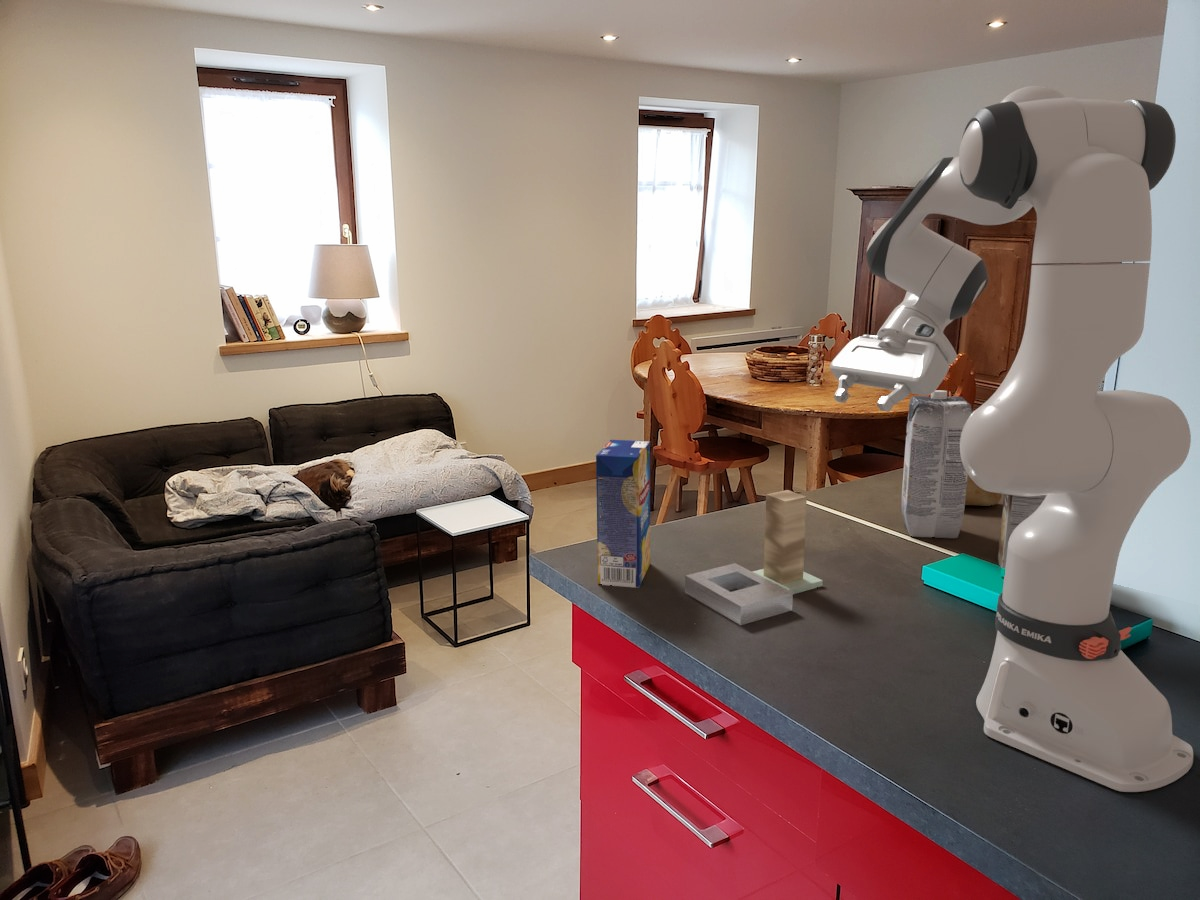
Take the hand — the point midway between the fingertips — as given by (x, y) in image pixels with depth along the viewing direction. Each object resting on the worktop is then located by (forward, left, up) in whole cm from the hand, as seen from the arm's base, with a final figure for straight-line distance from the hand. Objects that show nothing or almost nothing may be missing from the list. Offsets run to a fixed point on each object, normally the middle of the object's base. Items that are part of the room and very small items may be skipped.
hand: (859, 404), depth 143 cm
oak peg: (+3, +12, -28) cm, 31 cm away
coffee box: (-14, -25, -29) cm, 41 cm away
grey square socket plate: (+1, +23, -29) cm, 37 cm away
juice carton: (+7, -28, -29) cm, 41 cm away
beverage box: (+20, +32, -29) cm, 48 cm away
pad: (+3, +12, -29) cm, 32 cm away
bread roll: (+15, -47, -29) cm, 57 cm away
